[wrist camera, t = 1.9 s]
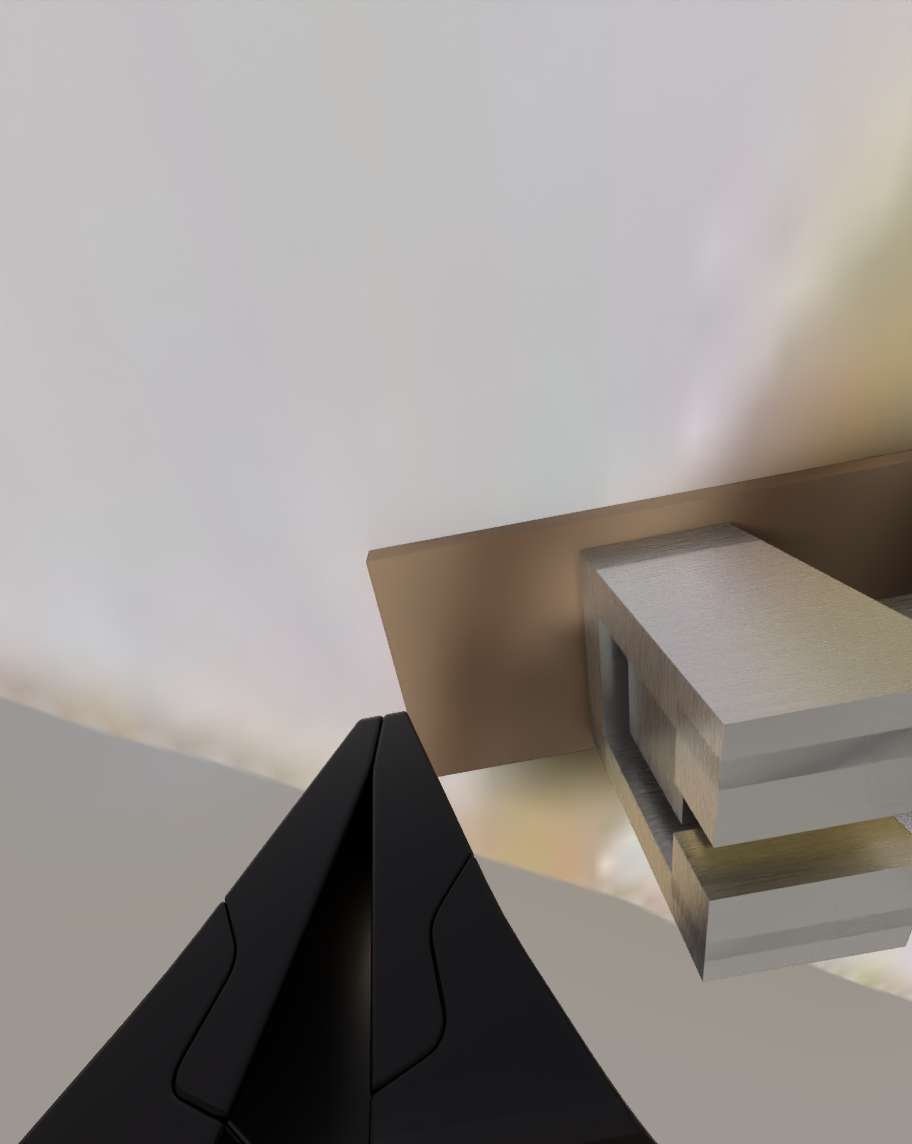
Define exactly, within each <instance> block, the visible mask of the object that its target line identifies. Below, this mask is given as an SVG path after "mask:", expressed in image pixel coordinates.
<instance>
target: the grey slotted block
mask: <svg viewBox="0 0 912 1144" xmlns="http://www.w3.org/2000/svg"><path fill="white" fill-rule="evenodd" d="M579 555H580V570H581V584H582V599H583V614H584V628H585V643H586V658H587V672H588V687H589V702H590V716H591V731H592V739H593V741H594V743H595V745H596V748H597V750H598V752H599V754H600V756H601V759H602V761H603V763H604V765H605V767H606V770H607V772H608V774H609V776H610V778H611V781H612V783H613V785H614V787H615V789H616V792H617V794H618V796H619V798H620V801H621V803H622V805H623V807H624V809H625V812H626V814H627V816H628V818H629V820H630V823H631V825H632V827H633V829H634V831H635V834H636V836H637V838H638V840H639V842H640V845H641V847H642V849H643V851H644V853H645V856H646V858H647V860H648V862H649V865H650V867H651V869H652V871H653V873H654V876H655V878H656V880H657V882H658V884H659V887H660V889H661V891H662V893H663V895H664V898H665V900H666V902H667V904H668V906H669V909H670V911H671V913H672V915H673V917H674V920H675V922H676V924H677V926H678V929H679V931H680V933H681V935H682V937H683V939H684V942H685V944H686V946H687V948H688V950H689V953H690V955H691V957H692V959H693V962H694V964H695V966H696V968H697V970H698V973H699V975H700V977H701V979H702V981H703V982H706V981H711V980H717V979H723V978H728V977H734V976H740V975H745V974H751V973H757V972H762V971H768V970H774V969H779V968H785V967H790V966H796V965H802V964H808V963H813V962H819V961H825V960H830V959H836V958H842V957H847V956H853V955H859V954H864V953H870V952H876V951H881V950H887V949H893V948H898V947H904V946H906V944H907V941H908V939H909V936H910V934H911V931H912V834H911V833H910V832H909V831H908V830H907V829H906V828H905V827H904V826H903V825H902V824H901V823H900V822H899V821H898V820H897V819H896V818H895V817H894V816H895V815H900V814H906V813H912V619H910V618H908V617H906V616H904V615H902V614H900V613H898V612H896V611H895V610H893V609H891V608H889V607H887V606H885V605H883V604H881V603H879V602H877V601H876V600H874V599H872V598H870V597H868V596H866V595H864V594H862V593H860V592H859V591H857V590H855V589H853V588H851V587H849V586H847V585H845V584H843V583H842V582H840V581H838V580H836V579H834V578H832V577H830V576H828V575H826V574H824V573H823V572H821V571H819V570H817V569H815V568H813V567H811V566H809V565H807V564H806V563H804V562H802V561H800V560H798V559H796V558H794V557H792V556H790V555H788V554H787V553H785V552H783V551H781V550H779V549H777V548H775V547H773V546H771V545H770V544H768V543H766V542H764V541H762V540H760V539H758V538H756V537H754V536H753V535H751V534H749V533H747V532H745V531H743V530H741V529H739V528H737V527H735V526H734V525H732V524H730V523H724V524H719V525H713V526H708V527H703V528H697V529H692V530H686V531H681V532H676V533H670V534H665V535H659V536H654V537H649V538H643V539H638V540H632V541H627V542H621V543H616V544H611V545H605V546H600V547H594V548H589V549H584V550H579ZM628 660H629V662H630V663H631V665H632V666H633V668H634V669H635V671H636V672H637V673H638V675H639V676H640V678H641V679H642V681H643V682H644V684H645V685H646V686H647V688H648V689H649V691H650V692H651V694H652V695H653V697H654V698H655V699H656V701H657V702H658V704H659V705H660V707H661V708H662V710H663V711H664V712H665V714H666V715H667V717H668V718H669V720H670V721H671V723H672V724H673V726H674V727H675V728H676V750H675V784H676V786H677V787H678V789H679V791H680V792H681V794H682V796H683V797H684V799H685V801H686V802H687V804H688V806H689V807H690V809H691V811H692V812H693V814H694V816H695V817H696V819H697V821H698V822H697V823H691V824H685V825H682V824H681V823H680V821H679V819H678V817H677V815H676V814H675V812H674V810H673V808H672V807H671V805H670V803H669V801H668V799H667V798H666V796H665V794H664V792H663V791H662V789H661V787H660V785H659V783H658V782H657V780H656V778H655V776H654V774H653V773H652V771H651V769H650V767H649V766H648V764H647V762H646V760H645V758H644V757H643V755H642V753H641V751H640V750H639V748H638V746H637V744H636V742H635V741H634V739H633V737H632V735H631V734H630V720H629V678H628Z"/></svg>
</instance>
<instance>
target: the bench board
mask: <svg viewBox="0 0 912 1144" xmlns="http://www.w3.org/2000/svg"><path fill="white" fill-rule="evenodd" d="M724 523H730V524H732V525H734V526H735V527H737V528H739V529H741V530H743V531H745V532H747V533H749V534H751V535H753V536H754V537H756V538H758V539H760V540H762V541H764V542H766V543H768V544H770V545H771V546H773V547H775V548H777V549H779V550H781V551H783V552H785V553H787V554H788V555H790V556H792V557H794V558H796V559H798V560H800V561H802V562H804V563H806V564H807V565H809V566H811V567H813V568H815V569H817V570H819V571H821V572H823V573H824V574H826V575H828V576H830V577H832V578H834V579H836V580H838V581H840V582H842V583H843V584H845V585H847V586H849V587H851V588H853V589H855V590H857V591H859V592H860V593H862V594H864V595H866V596H868V597H870V598H872V599H874V600H881V599H886V598H892V597H897V596H903V595H908V594H912V450H910V451H904V452H899V453H894V454H888V455H883V456H877V457H872V458H867V459H861V460H856V461H851V462H845V463H840V464H834V465H829V466H824V467H818V468H813V469H807V470H802V471H797V472H791V473H786V474H780V475H775V476H770V477H764V478H759V479H754V480H748V481H743V482H737V483H732V484H727V485H721V486H716V487H710V488H705V489H700V490H694V491H689V492H684V493H678V494H673V495H667V496H662V497H657V498H651V499H646V500H640V501H635V502H630V503H624V504H619V505H614V506H608V507H603V508H597V509H592V510H587V511H581V512H576V513H570V514H565V515H560V516H554V517H549V518H544V519H538V520H533V521H527V522H522V523H517V524H511V525H506V526H500V527H495V528H490V529H484V530H479V531H474V532H468V533H463V534H457V535H452V536H447V537H441V538H436V539H430V540H425V541H420V542H414V543H409V544H404V545H398V546H393V547H387V548H382V549H377V550H371V551H369V553H368V557H367V560H366V564H367V567H368V571H369V575H370V578H371V582H372V586H373V589H374V593H375V597H376V600H377V604H378V608H379V611H380V615H381V619H382V622H383V626H384V630H385V633H386V637H387V640H388V644H389V648H390V651H391V655H392V659H393V662H394V666H395V670H396V673H397V677H398V681H399V684H400V688H401V692H402V695H403V699H404V703H405V706H406V710H407V713H408V715H409V717H410V719H411V721H412V723H413V726H414V728H415V730H416V732H417V734H418V736H419V738H420V741H421V743H422V745H423V747H424V749H425V751H426V753H427V756H428V758H429V760H430V762H431V764H432V766H433V768H434V771H435V773H436V775H437V777H439V776H445V775H450V774H456V773H461V772H467V771H472V770H478V769H483V768H489V767H494V766H500V765H506V764H511V763H517V762H522V761H528V760H533V759H539V758H544V757H550V756H555V755H561V754H566V753H572V752H577V751H583V750H588V749H594V748H596V745H595V743H594V741H593V739H592V731H591V716H590V702H589V687H588V672H587V658H586V643H585V628H584V614H583V599H582V584H581V570H580V555H579V550H584V549H589V548H594V547H600V546H605V545H611V544H616V543H621V542H627V541H632V540H638V539H643V538H649V537H654V536H659V535H665V534H670V533H676V532H681V531H686V530H692V529H697V528H703V527H708V526H713V525H719V524H724Z"/></svg>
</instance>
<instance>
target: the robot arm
mask: <svg viewBox="0 0 912 1144" xmlns="http://www.w3.org/2000/svg"><path fill="white" fill-rule="evenodd" d="M19 1144H657V1142H656V1141H655V1140H654V1139H653V1138H652V1136H651V1135H650V1134H649V1133H648V1131H647V1130H646V1129H645V1128H644V1126H643V1125H642V1124H641V1122H640V1121H639V1120H638V1119H637V1117H636V1116H635V1115H634V1113H633V1112H632V1111H631V1109H630V1108H629V1106H628V1105H627V1104H626V1102H625V1101H624V1100H623V1098H622V1097H621V1095H620V1094H619V1093H618V1091H617V1090H616V1088H615V1087H614V1085H613V1084H612V1083H611V1081H610V1080H609V1078H608V1077H607V1076H606V1074H605V1072H604V1071H603V1070H602V1068H601V1066H600V1065H599V1064H598V1062H597V1061H596V1059H595V1058H594V1056H593V1054H592V1053H591V1051H590V1050H589V1048H588V1047H587V1045H586V1044H585V1042H584V1041H583V1039H582V1038H581V1036H580V1034H579V1033H578V1032H577V1030H576V1028H575V1027H574V1026H573V1024H572V1022H571V1021H570V1019H569V1017H568V1016H567V1014H566V1013H565V1011H564V1010H563V1008H562V1007H561V1005H560V1004H559V1002H558V1001H557V999H556V998H555V996H554V994H553V993H552V991H551V990H550V988H549V987H548V985H547V984H546V982H545V980H544V979H543V977H542V976H541V974H540V973H539V971H538V970H537V968H536V967H535V965H534V963H533V962H532V960H531V959H530V957H529V956H528V954H527V953H526V951H525V949H524V948H523V946H522V944H521V943H520V941H519V939H518V938H517V936H516V934H515V933H514V931H513V929H512V928H511V926H510V924H509V923H508V921H507V919H506V918H505V916H504V915H503V913H502V910H501V908H500V907H499V905H498V903H497V901H496V899H495V897H494V895H493V893H492V891H491V889H490V887H489V885H488V883H487V881H486V879H485V877H484V875H483V873H482V871H481V868H480V866H479V864H478V862H477V860H476V859H475V858H474V854H473V852H472V850H471V848H470V845H469V843H468V841H467V839H466V837H465V835H464V833H463V830H462V828H461V826H460V824H459V822H458V820H457V818H456V815H455V813H454V811H453V809H452V807H451V805H450V803H449V800H448V798H447V796H446V794H445V792H444V790H443V788H442V786H441V783H440V781H439V779H438V777H437V775H436V773H435V771H434V768H433V766H432V764H431V762H430V760H429V758H428V756H427V753H426V751H425V749H424V747H423V745H422V743H421V741H420V738H419V736H418V734H417V732H416V730H415V728H414V726H413V723H412V721H411V719H410V717H409V715H408V713H407V712H405V711H403V712H397V713H392V714H387V715H386V716H384V718H383V717H382V716H376V717H370V718H365V719H361V720H360V721H358V722H357V724H356V725H355V726H354V728H353V729H352V730H351V732H350V733H349V734H348V736H347V737H346V738H345V739H344V741H343V742H342V743H341V745H340V746H339V747H338V749H337V750H336V751H335V753H334V754H333V755H332V757H331V758H330V759H329V761H328V762H327V763H326V764H325V766H324V767H323V768H322V770H321V771H320V772H319V774H318V775H317V776H316V778H315V779H314V780H313V782H312V783H311V784H310V786H309V787H308V788H307V789H306V791H305V792H304V793H303V795H302V796H301V797H300V799H299V800H298V802H297V803H296V804H295V805H294V807H293V808H292V809H291V811H290V812H289V813H288V815H287V816H286V817H285V819H284V820H283V821H282V822H281V824H280V825H279V826H278V828H277V829H276V830H275V832H274V833H273V834H272V836H271V837H270V838H269V840H268V841H267V842H266V844H265V845H264V846H263V847H262V849H261V850H260V851H259V853H258V854H257V855H256V857H255V858H254V859H253V861H252V862H251V863H250V865H249V866H248V867H247V869H246V870H245V871H244V872H243V874H242V875H241V876H240V878H239V879H238V880H237V882H236V883H235V884H234V886H233V887H232V888H231V890H230V891H229V892H228V894H227V895H226V896H225V902H221V903H220V904H219V905H218V906H217V908H216V909H215V910H214V912H213V913H212V914H211V916H210V917H209V918H208V920H207V921H206V922H205V923H204V925H203V926H202V927H201V929H200V930H199V931H198V933H197V934H196V935H195V936H194V938H193V939H192V940H191V942H190V943H189V944H188V945H187V947H186V948H185V949H184V950H183V952H182V953H181V954H180V955H179V957H178V958H177V959H176V960H175V962H174V963H173V964H172V965H171V967H170V968H169V970H168V971H167V972H166V973H165V974H164V975H163V977H162V978H161V979H160V980H159V981H158V983H157V984H156V985H155V986H154V987H153V989H152V990H151V991H150V992H149V993H148V994H147V996H146V997H145V998H144V999H143V1000H142V1001H141V1003H140V1004H139V1005H138V1006H137V1008H136V1009H135V1010H134V1011H133V1012H132V1013H131V1015H130V1016H129V1017H128V1018H127V1019H126V1021H125V1022H124V1023H123V1024H122V1025H121V1026H120V1027H119V1029H118V1030H117V1031H116V1032H115V1033H114V1034H113V1036H112V1037H111V1038H110V1039H109V1040H108V1041H107V1043H106V1044H105V1045H104V1046H103V1047H102V1048H101V1049H100V1050H99V1052H98V1053H97V1054H96V1055H95V1056H94V1057H93V1058H92V1060H91V1061H90V1062H89V1063H88V1064H87V1065H86V1067H85V1068H84V1069H83V1070H82V1071H81V1072H80V1073H79V1075H78V1076H77V1077H76V1078H75V1079H74V1080H73V1082H72V1083H71V1084H70V1085H69V1086H68V1087H67V1088H66V1090H65V1091H64V1092H63V1093H62V1094H61V1095H60V1096H59V1098H58V1099H57V1100H56V1101H55V1102H54V1103H53V1105H52V1106H51V1107H50V1108H49V1109H48V1110H47V1111H46V1113H45V1114H44V1115H43V1116H42V1117H41V1118H40V1120H39V1121H38V1122H37V1123H36V1124H35V1125H34V1126H33V1128H32V1129H31V1130H30V1131H29V1132H28V1133H27V1134H26V1136H25V1137H24V1138H23V1139H22V1140H21V1141H20V1142H19Z"/></svg>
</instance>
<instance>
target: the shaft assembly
mask: <svg viewBox="0 0 912 1144" xmlns="http://www.w3.org/2000/svg"><path fill="white" fill-rule="evenodd" d="M876 601H877V602H879V603H881V604H883V605H885V606H887V607H889V608H891V609H893V610H895V611H896V612H898V613H900V614H902V615H904V616H906V617H908V618H910V619H912V594H908V595H903V596H897V597H892V598H886V599H881V600H876ZM628 678H629V720H630V734H631V735H632V737H633V739H634V741H635V742H636V744H637V746H638V748H639V750H640V751H641V753H642V755H643V757H644V758H645V760H646V762H647V764H648V766H649V767H650V769H651V771H652V773H653V774H654V776H655V778H656V780H657V782H658V783H659V785H660V787H661V789H662V791H663V792H664V794H665V796H666V798H667V799H668V801H669V803H670V805H671V807H672V808H673V810H674V812H675V814H676V815H677V817H678V819H679V821H680V823H681V824H682V825H685V824H691V823H697V822H698V821H697V819H696V817H695V816H694V814H693V812H692V811H691V809H690V807H689V806H688V804H687V802H686V801H685V799H684V797H683V796H682V794H681V792H680V791H679V789H678V787H677V786H676V784H675V750H676V728H675V727H674V726H673V724H672V723H671V721H670V720H669V718H668V717H667V715H666V714H665V712H664V711H663V710H662V708H661V707H660V705H659V704H658V702H657V701H656V699H655V698H654V697H653V695H652V694H651V692H650V691H649V689H648V688H647V686H646V685H645V684H644V682H643V681H642V679H641V678H640V676H639V675H638V673H637V672H636V671H635V669H634V668H633V666H632V665H631V663H630V662H629V660H628Z"/></svg>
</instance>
